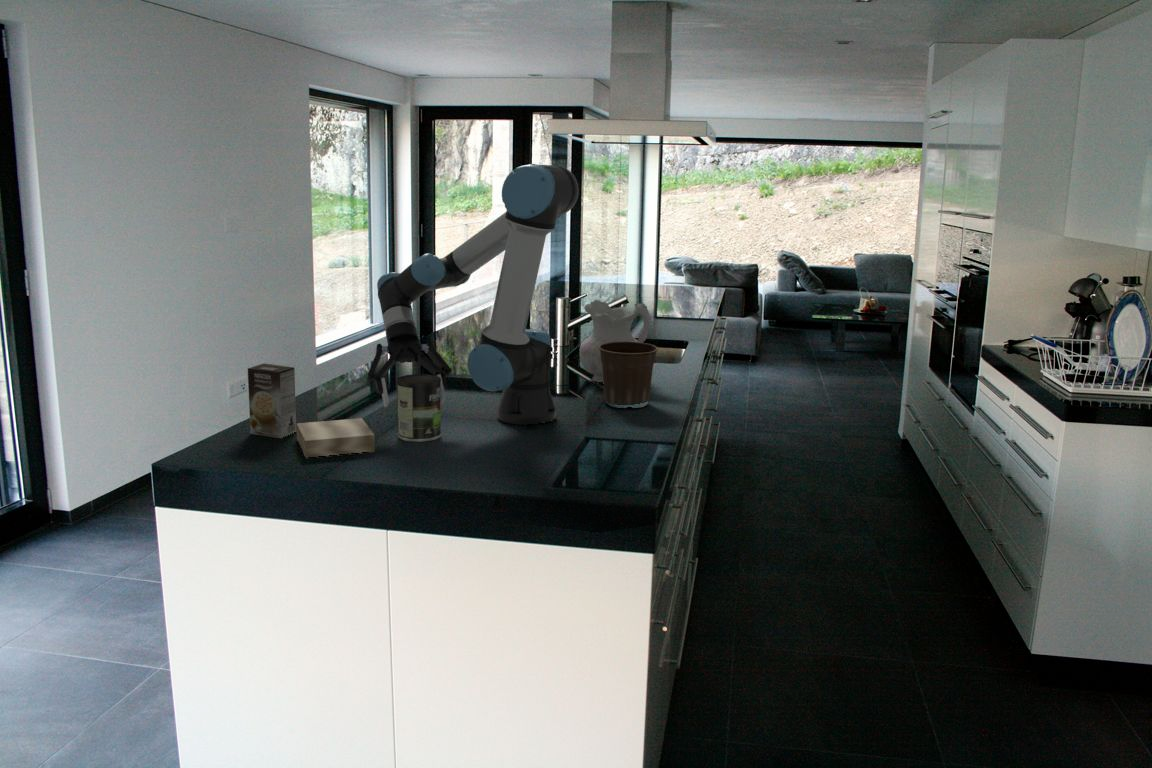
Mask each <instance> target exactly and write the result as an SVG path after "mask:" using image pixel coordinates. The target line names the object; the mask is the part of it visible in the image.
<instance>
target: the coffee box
mask: <svg viewBox="0 0 1152 768" xmlns="http://www.w3.org/2000/svg"><path fill="white" fill-rule="evenodd" d="M247 384H248V385H247V387H248V402H249V403H248V404H249V405H248V409H249V426H250V427H249V429H250V431H249V433H250V435H254V436H255V435H256V436H263V437H268V438H277V439H284V438H286V437H288V435H289V436H291V435H293V434H295V433H294V432H296V433H297V410H296V408H297V406H296V377H295V367H294V366H293V367H292V366H285V365H279V364H271V363H261V364H258V365H254V366H252V367H248V368H247ZM292 433H293V434H292ZM290 434H291V435H290ZM285 436H286V437H285ZM283 437H284V438H283Z"/></svg>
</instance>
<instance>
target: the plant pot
mask: <svg viewBox="0 0 1152 768" xmlns="http://www.w3.org/2000/svg"><path fill="white" fill-rule="evenodd" d="M598 349H599V350H600V356H601V362H602V369H603V384H604V385H603V398H604V399H603V400H605V401H606V402H608V403H611V404H617V405H634V404H640V403H645V402H647V401H650V394H651V385H652V378H653V371H654V369H653V368H654V364H655V362H656V355H657V352H658V350H659V347H658V346H656V345H655V344H651V343H646V342H645V343H644V342H643V343H639V342H609V343H604V344H601V345H599V346H598Z"/></svg>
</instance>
